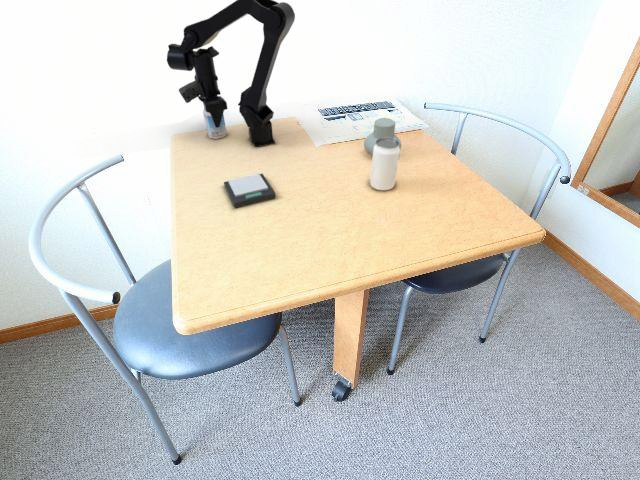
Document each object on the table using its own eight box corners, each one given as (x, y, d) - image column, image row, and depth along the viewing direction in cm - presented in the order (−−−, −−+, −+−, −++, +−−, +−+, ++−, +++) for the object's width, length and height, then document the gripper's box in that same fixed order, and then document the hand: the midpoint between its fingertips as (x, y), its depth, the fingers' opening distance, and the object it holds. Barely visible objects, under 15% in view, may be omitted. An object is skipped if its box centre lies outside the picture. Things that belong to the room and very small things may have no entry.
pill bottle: (230, 133, 122) (224, 99, 114) (219, 140, 117) (212, 105, 110) (215, 130, 123) (209, 96, 116) (204, 137, 119) (196, 102, 112)
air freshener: (392, 145, 114) (397, 114, 108) (403, 157, 108) (409, 125, 102) (359, 149, 112) (361, 118, 106) (369, 162, 106) (372, 129, 100)
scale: (263, 178, 100) (262, 171, 98) (275, 198, 92) (275, 190, 91) (224, 187, 96) (223, 179, 95) (234, 208, 89) (233, 200, 88)
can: (396, 180, 99) (402, 138, 91) (392, 193, 94) (398, 150, 86) (372, 176, 100) (377, 135, 92) (367, 189, 96) (371, 146, 88)
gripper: (172, 67, 112) (185, 117, 122) (182, 85, 99) (195, 139, 109) (209, 62, 115) (218, 111, 125) (223, 79, 102) (232, 133, 112)
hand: (215, 123), depth 118 cm, fingers closed on pill bottle, 6 cm apart
